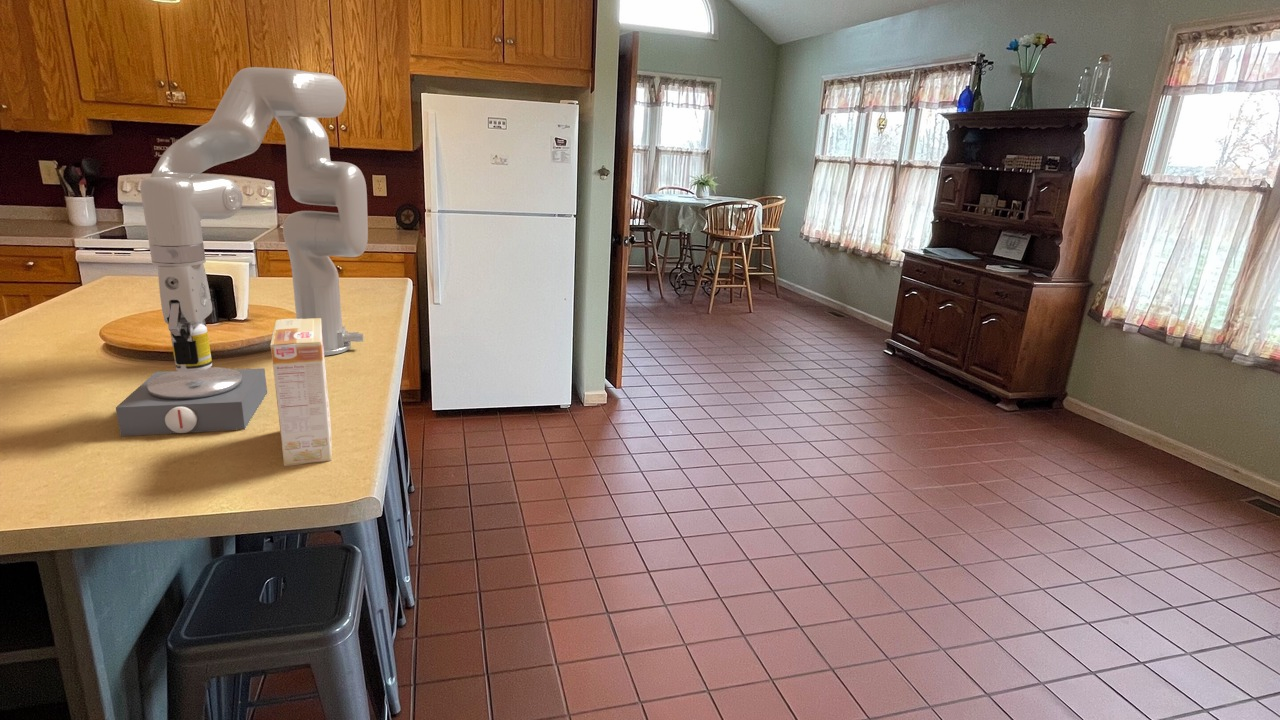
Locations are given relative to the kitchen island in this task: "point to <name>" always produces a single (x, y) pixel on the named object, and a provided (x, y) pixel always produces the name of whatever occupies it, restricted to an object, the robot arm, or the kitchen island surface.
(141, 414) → the scale base
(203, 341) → the supplement bottle
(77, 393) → the kitchen island surface
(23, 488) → the kitchen island surface
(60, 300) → the kitchen island surface
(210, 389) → the scale pan
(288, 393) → the coffeecake box
